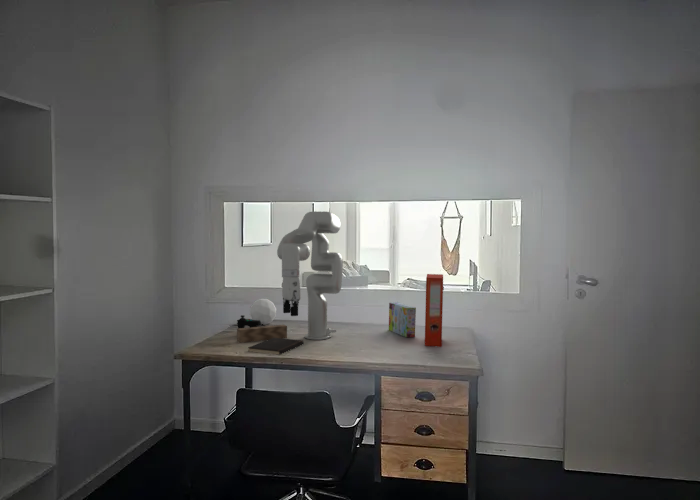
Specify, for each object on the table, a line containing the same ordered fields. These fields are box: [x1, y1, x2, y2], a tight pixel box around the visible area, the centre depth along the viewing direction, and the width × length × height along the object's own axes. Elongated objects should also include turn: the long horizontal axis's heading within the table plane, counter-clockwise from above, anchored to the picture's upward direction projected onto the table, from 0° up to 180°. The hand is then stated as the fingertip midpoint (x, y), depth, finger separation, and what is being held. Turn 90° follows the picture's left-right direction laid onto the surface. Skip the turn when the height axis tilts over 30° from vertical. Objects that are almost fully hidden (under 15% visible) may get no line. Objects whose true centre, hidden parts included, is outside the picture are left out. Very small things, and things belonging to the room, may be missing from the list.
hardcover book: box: [247, 338, 304, 356], centre depth 267 cm, size 16×23×2 cm
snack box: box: [388, 301, 417, 338], centre depth 301 cm, size 21×6×15 cm, turn 22°
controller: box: [236, 315, 262, 329], centre depth 293 cm, size 4×12×10 cm, turn 76°
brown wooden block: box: [236, 324, 288, 344], centre depth 284 cm, size 24×4×6 cm, turn 118°
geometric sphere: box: [249, 298, 277, 326], centre depth 324 cm, size 14×15×15 cm
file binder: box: [424, 273, 444, 348], centre depth 279 cm, size 8×17×32 cm, turn 171°
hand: (290, 314), depth 251 cm, fingers open, 7 cm apart
